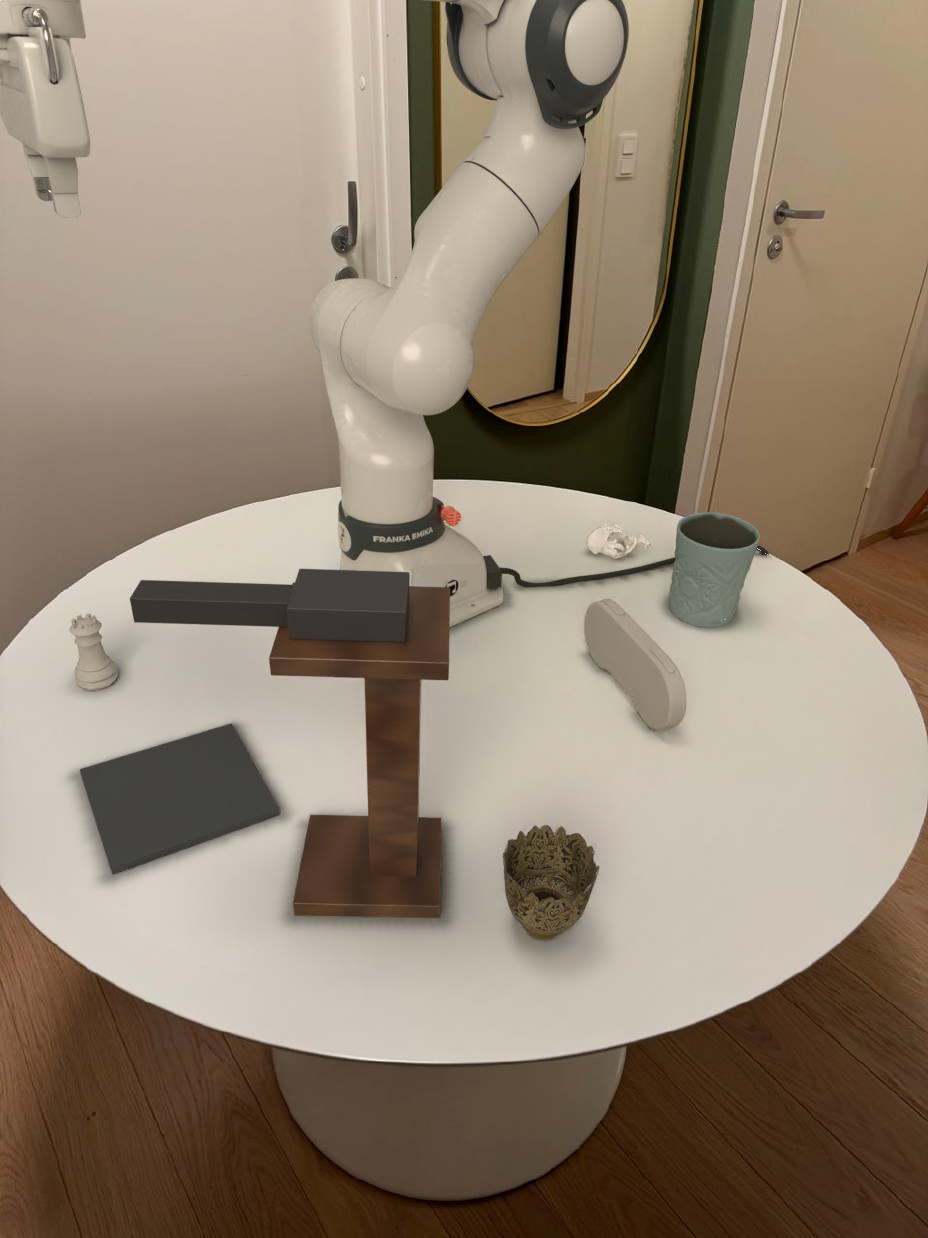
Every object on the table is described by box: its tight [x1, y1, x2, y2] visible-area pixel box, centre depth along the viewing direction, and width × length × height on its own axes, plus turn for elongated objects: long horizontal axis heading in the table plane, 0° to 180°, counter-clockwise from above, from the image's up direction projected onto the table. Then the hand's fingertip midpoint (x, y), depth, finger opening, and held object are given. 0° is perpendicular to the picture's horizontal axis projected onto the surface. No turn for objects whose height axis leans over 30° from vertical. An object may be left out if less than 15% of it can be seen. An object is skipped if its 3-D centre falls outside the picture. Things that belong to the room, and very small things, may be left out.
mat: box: [79, 722, 280, 875], centre depth 83 cm, size 15×14×1 cm
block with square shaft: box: [129, 568, 410, 642], centre depth 61 cm, size 19×6×2 cm, turn 90°
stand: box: [268, 582, 451, 919], centre depth 69 cm, size 12×10×26 cm
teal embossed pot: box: [667, 511, 761, 628], centre depth 112 cm, size 10×10×12 cm
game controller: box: [583, 598, 687, 731], centre depth 98 cm, size 20×2×8 cm, turn 20°
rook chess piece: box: [68, 613, 119, 691], centre depth 95 cm, size 4×4×8 cm
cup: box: [502, 824, 600, 941], centre depth 70 cm, size 8×7×8 cm
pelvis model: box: [586, 522, 651, 560], centre depth 127 cm, size 8×4×7 cm
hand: (58, 207), depth 74 cm, fingers open, 8 cm apart
